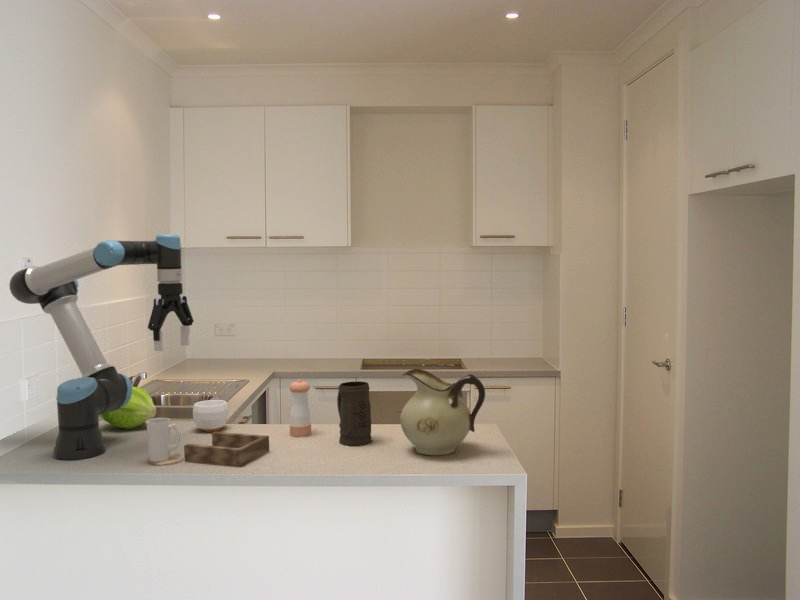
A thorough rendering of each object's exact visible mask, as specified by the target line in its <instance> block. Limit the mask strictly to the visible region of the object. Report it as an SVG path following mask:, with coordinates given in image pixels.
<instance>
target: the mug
mask: <svg viewBox="0 0 800 600" xmlns="http://www.w3.org/2000/svg"><path fill="white" fill-rule="evenodd" d="M145 422H146V435H147V451H148V462H149V461H152V462H161V461H166V460H168V459H170V454H171V451H176V450H177V449H178V448H179V444H180V443H181V438H182V437H181V431H180V429H179V426H178V424H177V423H172V424H171V419H170V418H168V417H155V418H154V417H153V418H151V419H149V420H147V421H145ZM171 430H174V431H175V433H176V442H174V444H171Z"/></svg>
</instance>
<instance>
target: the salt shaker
mask: <svg viewBox="0 0 800 600" xmlns="http://www.w3.org/2000/svg"><path fill="white" fill-rule="evenodd" d="M310 389H311V386H310V385H309V382H307V381H302V379H296V381H294V382H292V383H290V385H289V387H288V390H289V391H290V392H291V409H290V424H289V435H290V436H291V437H295V438H296V437H298V438H301V437H302V438H303V437H308V436H310V435H312V424H311V413H310V407H309V395H308V394H309V393H308V392H309V390H310Z"/></svg>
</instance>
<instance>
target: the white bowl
mask: <svg viewBox="0 0 800 600" xmlns="http://www.w3.org/2000/svg"><path fill="white" fill-rule="evenodd" d="M228 418H229V406H228V402H227V401H225V400H222V399H210V400H209V399H208V400H201V401H198V402H195V403H194V404H193V407H192V419H193V421H194V424H195V425H196V426H197V428H198V429H200V430H202V431H203V432H205V431H206V433H207V432H209V433H210V432H211V433H213V432H218V431H219V430H220V429H221V428H223V427H224V426H225V425H226V423H227V422H228ZM212 431H213V432H212Z"/></svg>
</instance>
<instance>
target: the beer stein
mask: <svg viewBox="0 0 800 600" xmlns="http://www.w3.org/2000/svg"><path fill="white" fill-rule="evenodd" d="M337 392H338V393H337V398H336V399H337V400H336V403H337V404H336V405H337V410H338V416H339V419H340V421H339V426H338V427H339V441H338V442H339V444H340V445H342V446H350V447H357V446H358V447H359V446H361V447H362V446H365V445H368V444H370V443H371V442H372V441H373V439H372V416H371V415H372V414H371V412H372V411H371V410H372V409H371V401H370V384H369V382H367V381H360V380H359V381H347V382H346V381H345V382H342V383H340V384H339V385H338V391H337Z"/></svg>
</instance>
